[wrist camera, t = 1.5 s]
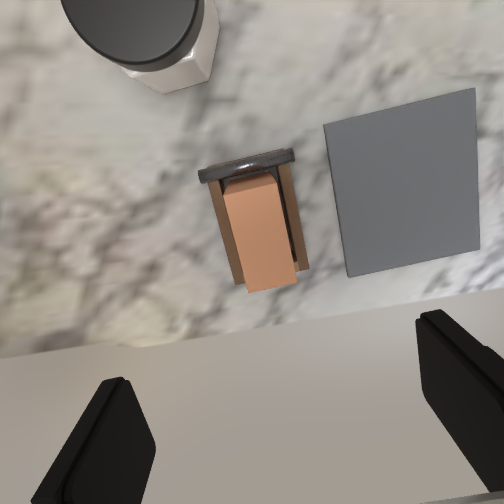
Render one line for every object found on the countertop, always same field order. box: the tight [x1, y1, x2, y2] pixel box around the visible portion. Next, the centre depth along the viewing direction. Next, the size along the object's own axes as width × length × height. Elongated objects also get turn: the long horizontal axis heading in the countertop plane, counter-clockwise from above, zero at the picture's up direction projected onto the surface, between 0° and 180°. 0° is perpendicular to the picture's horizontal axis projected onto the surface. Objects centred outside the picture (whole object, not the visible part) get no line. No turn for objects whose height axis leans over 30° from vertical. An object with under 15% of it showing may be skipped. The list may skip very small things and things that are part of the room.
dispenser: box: [198, 148, 309, 285], centre depth 34 cm, size 8×12×5 cm
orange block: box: [223, 171, 297, 293], centre depth 31 cm, size 4×8×10 cm, turn 13°
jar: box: [61, 0, 220, 94], centre depth 25 cm, size 9×8×12 cm
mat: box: [323, 88, 480, 278], centre depth 35 cm, size 14×16×1 cm
